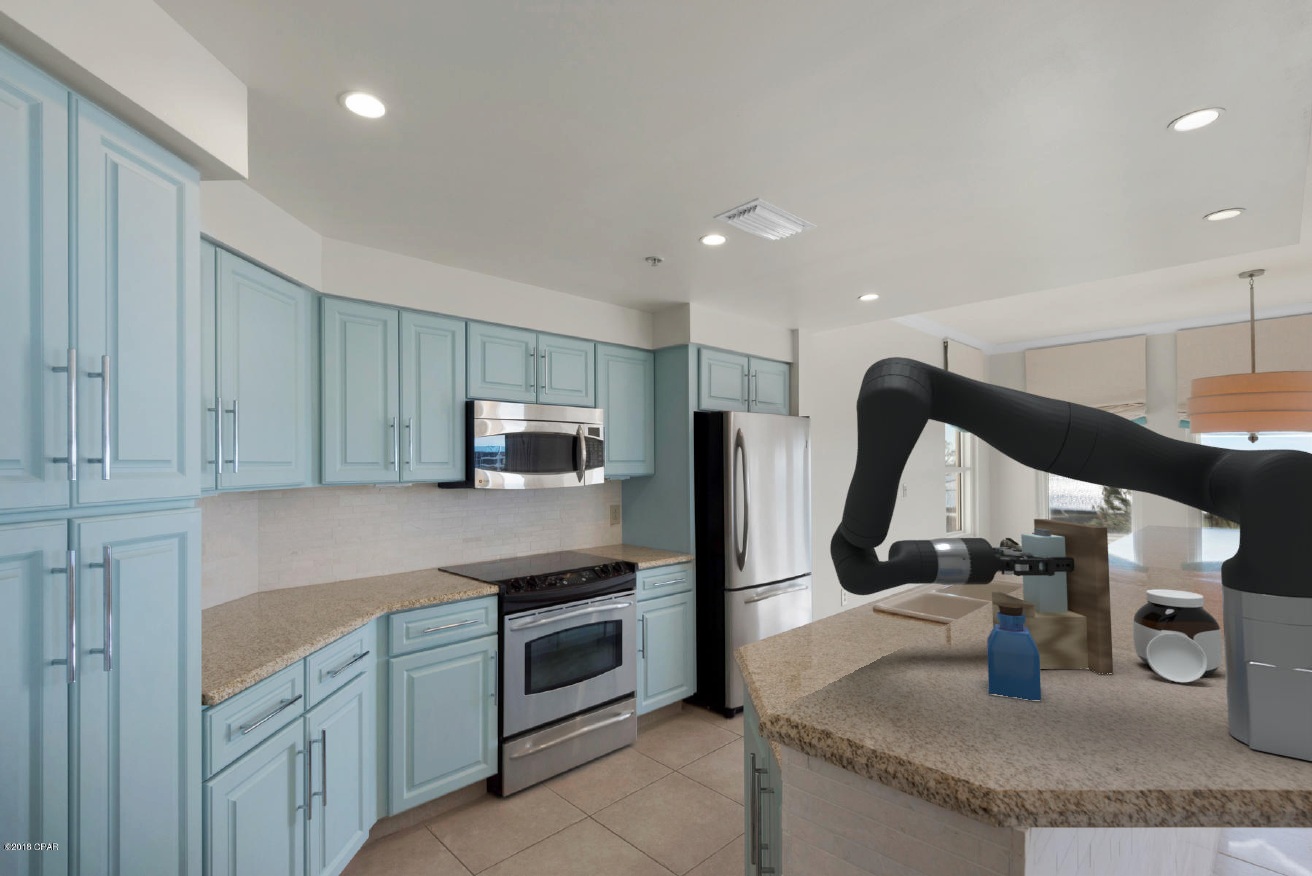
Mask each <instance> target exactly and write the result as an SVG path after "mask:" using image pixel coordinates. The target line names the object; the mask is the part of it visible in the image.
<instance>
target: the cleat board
mask: <svg viewBox="0 0 1312 876" xmlns="http://www.w3.org/2000/svg"><path fill="white" fill-rule="evenodd" d="M1033 525H1034V526H1033V527H1034V529H1046V530H1051V535H1056V536H1062V537H1065V556H1066V557H1071V558H1073V559H1074V571H1072V572H1066V583H1067V609H1068V613H1039V612H1036V611H1035V605H1034V604H1032V603H1029V602H1026V601H1024V599H1020V598H1018V597H1016V596H1012V595H1010V594H1007V593H1004V592H1001V591H996V590H995V591H991V606H992V607H991V608H992V628H993V627H994V626H995V624H1000V621H999V620H998V619H997V612H999V611H1000V609H999V605H998V604H999V603H1016V604H1021V605H1023V606H1024V608H1023V612H1022V613H1023V614H1025V621H1026V622H1025V623H1023V627H1027V628H1028V630H1029V631H1030V633H1031V635H1032V637H1033V639H1034V640H1035V642H1036V645H1037V648H1038V652H1039V655H1040V669H1072V670H1081V669H1080V668H1084V669H1083V670H1087V669H1086V668H1089V669H1090V670H1089V669H1088V670H1089V671H1091V670H1093V671H1095V672H1097V673H1100V674H1102V673H1103V674H1107V673H1108V674H1109V673H1112V674H1113V675H1114V666H1113V665H1114V664H1113V662H1114V661H1113V660H1114V659H1113V642H1112V641H1113V640H1112V638H1113V637H1112V615H1111V613H1112V612H1111V609H1112V608H1111V591H1110V589H1111V588H1110V567H1109V566H1110V564H1109V563H1110V562H1109V560H1110V559H1109V541H1108V540H1109V539H1108V537H1109V536H1108V527H1105V526H1098V525H1093V524H1092V525H1091V524H1084V523H1076V522H1070V521H1065V520H1063V521H1062V520H1055V519H1049V518H1034V519H1033ZM1034 529H1033V530H1034ZM1093 671H1092V672H1093ZM1095 672H1094V673H1095ZM1097 673H1096V674H1097ZM1100 674H1099V675H1100Z"/></svg>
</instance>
